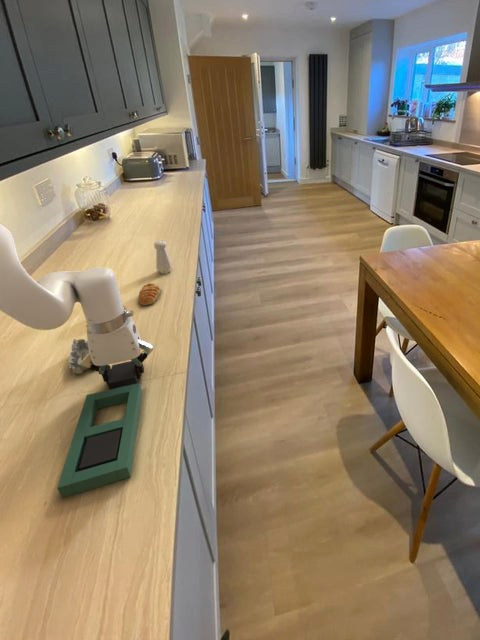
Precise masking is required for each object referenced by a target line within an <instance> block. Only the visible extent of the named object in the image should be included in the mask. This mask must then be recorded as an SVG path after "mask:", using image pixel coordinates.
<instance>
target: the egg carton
mask: <svg viewBox="0 0 480 640" xmlns="http://www.w3.org/2000/svg"><path fill="white" fill-rule="evenodd" d="M88 353H89V348H88V341H87V340H85V339H84V338H79V339H76V338H73V340H72V344H71V351H70V355H69V359H68V364H69V369H71V370H72V373H74V374H77V375H80V374H83V372H84V371H86V370H89V368H88V367H85V366H82V365H81V363H82V360H83V359H84V358H85V356H86V355H87V354H88Z"/></svg>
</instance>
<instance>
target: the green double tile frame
mask: <svg viewBox="0 0 480 640" xmlns="http://www.w3.org/2000/svg"><path fill="white" fill-rule="evenodd" d="M142 389H143V388H142V386H141V383H140V382H138V383H137V384H132V385H128V386H123V387H119V388H115V389H111V390H110V389H106V390H103V391H98V392H93V393H89V394H86V396H85V400H84V402H83V406H82V409H81V412H80V416H79V418H78V421H77V425H76V428H75V430H74V434H73V437H72V440H71V443H70V447H69V450H68V452H67V456H66V459H65V462H64V466H63V468H62V472H61V473H60V478H59V481H58V484H57V487H56V489H57V490H58V493H59V495H60V496H61V498H62V499H63V498H64V499H65V498H67V497H71V496H73V495H76V494H81V493H83V492H87V491H90V490H94V489H96V488H100V487H103V486H107V485H110V484H113V483H116V482H119V481H123V480H125V479H126V480H127V479H129V478H131V477H132V468H133V463H134V455H135V448H136V447H135V446H136V439H137V433H138V427H139V426H138V425H139V417H140V411H141V404H142V397H143V395H142V394H143V390H142ZM124 403H126V409H125V413H124V418H120V419H116V420H112V421H108V422H104V423H101V424H96V425H95V421H96V418H97V414H98V410H99V409H104V408H107V407H112V406H115V405H119V404H124ZM120 429H121V432H122V436H121V441H120V447H119V452H118V458H117V460H116V461H113V462H109V463H106V464H103V465H99V466H96V467H92V468H89V469H85V470H82V471H80V470H79V467H80V463H81V459H82V456H83V452H84V449H85V445H86V441H87V438H90V437H94V436H98V435H102V434H105V433H109V432H113V431H117V430H120Z"/></svg>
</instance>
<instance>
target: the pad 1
mask: <svg viewBox="0 0 480 640" xmlns="http://www.w3.org/2000/svg"><path fill="white" fill-rule="evenodd" d="M121 436H122V432H121V429H120V430H117V431H113V432H109V433H105V434H102V435H98V436H94V437H90V438H87V441H86V445H85V449H84V452H83V456H82V459H81V463H80V467H79V470H80V471H82V470H85V469H89V468H92V467H96V466H99V465H103V464H106V463H109V462H113V461H116V460H117V458H118V452H119V447H120V441H121Z"/></svg>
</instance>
